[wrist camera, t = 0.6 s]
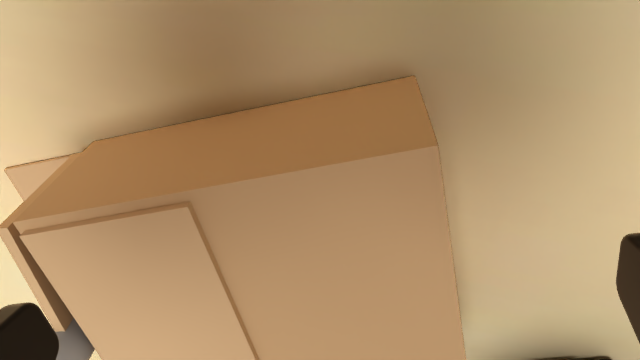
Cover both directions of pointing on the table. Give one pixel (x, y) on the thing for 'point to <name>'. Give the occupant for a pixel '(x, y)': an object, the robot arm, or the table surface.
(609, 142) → the table surface
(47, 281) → the flap
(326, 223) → the carton
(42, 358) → the robot arm
